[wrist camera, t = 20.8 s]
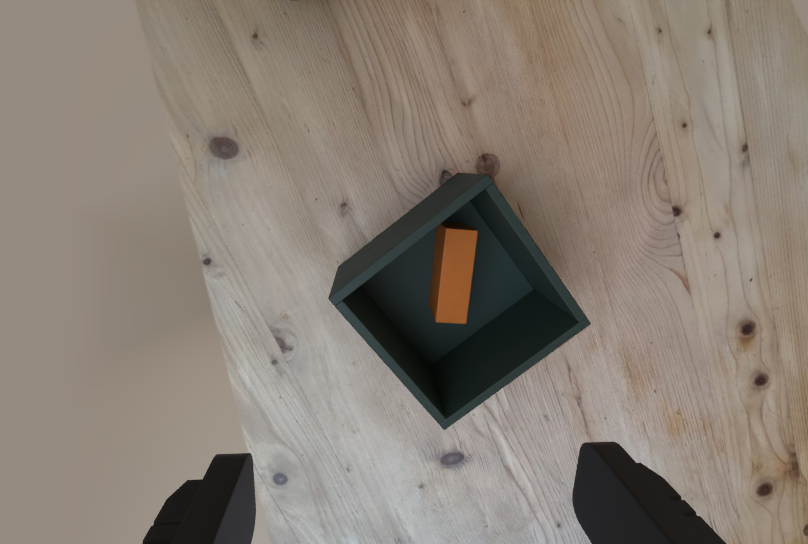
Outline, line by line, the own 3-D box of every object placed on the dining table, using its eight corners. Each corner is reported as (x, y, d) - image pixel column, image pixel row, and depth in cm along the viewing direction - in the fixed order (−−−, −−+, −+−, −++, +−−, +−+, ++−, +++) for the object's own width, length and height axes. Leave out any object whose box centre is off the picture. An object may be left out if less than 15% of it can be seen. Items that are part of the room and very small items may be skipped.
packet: (435, 322, 39) (445, 228, 37) (428, 305, 44) (436, 221, 42) (466, 324, 39) (478, 230, 37) (455, 307, 44) (465, 223, 42)
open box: (337, 267, 43) (327, 298, 32) (457, 172, 42) (487, 173, 31) (427, 372, 47) (444, 430, 36) (540, 288, 45) (591, 323, 35)
